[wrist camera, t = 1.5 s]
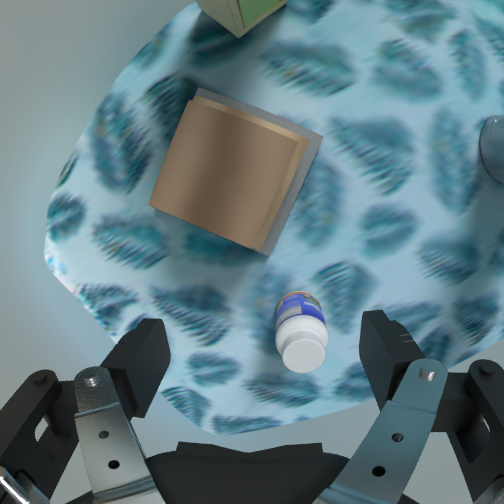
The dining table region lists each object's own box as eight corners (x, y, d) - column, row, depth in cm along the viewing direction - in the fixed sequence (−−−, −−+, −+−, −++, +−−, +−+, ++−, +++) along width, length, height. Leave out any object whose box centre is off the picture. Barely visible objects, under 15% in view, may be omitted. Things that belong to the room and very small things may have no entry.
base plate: (321, 137, 30) (323, 136, 29) (269, 253, 34) (269, 256, 33) (200, 89, 29) (198, 87, 28) (155, 205, 33) (151, 207, 32)
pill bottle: (328, 314, 36) (343, 361, 27) (291, 336, 37) (295, 387, 28) (304, 280, 35) (315, 322, 25) (266, 304, 36) (263, 351, 27)
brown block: (304, 143, 29) (316, 135, 21) (261, 238, 32) (258, 265, 24) (205, 103, 29) (182, 85, 21) (167, 199, 32) (134, 212, 24)
